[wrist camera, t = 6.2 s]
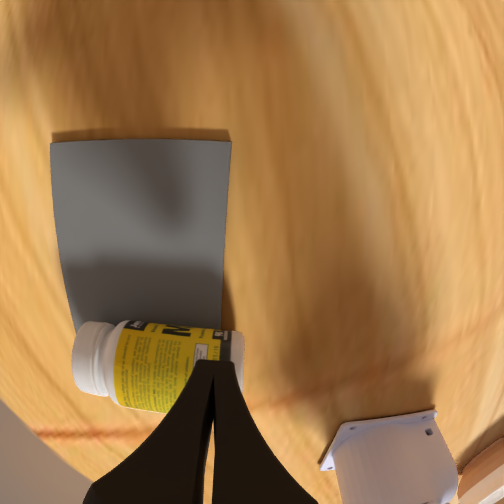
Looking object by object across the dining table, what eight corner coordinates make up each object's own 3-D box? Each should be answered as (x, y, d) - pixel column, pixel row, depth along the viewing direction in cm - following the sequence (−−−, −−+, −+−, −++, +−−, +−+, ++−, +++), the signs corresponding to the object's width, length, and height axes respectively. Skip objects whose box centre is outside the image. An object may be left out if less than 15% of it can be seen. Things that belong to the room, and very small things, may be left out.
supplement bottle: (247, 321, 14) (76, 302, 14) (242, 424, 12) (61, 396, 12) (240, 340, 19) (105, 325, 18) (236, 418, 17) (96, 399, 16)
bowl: (536, 404, 27) (560, 440, 20) (520, 443, 33) (537, 473, 25) (447, 465, 30) (465, 508, 22) (447, 490, 35) (460, 523, 28)
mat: (231, 141, 14) (231, 142, 13) (218, 396, 20) (217, 401, 20) (55, 142, 13) (50, 143, 13) (94, 380, 20) (91, 385, 19)
